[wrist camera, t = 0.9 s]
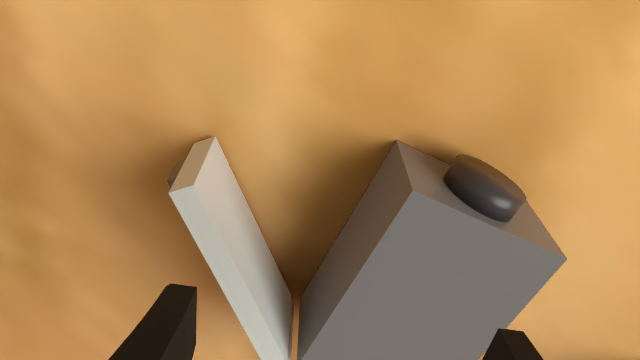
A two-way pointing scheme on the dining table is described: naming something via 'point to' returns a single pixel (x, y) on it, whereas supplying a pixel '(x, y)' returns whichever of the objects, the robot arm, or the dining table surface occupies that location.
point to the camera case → (426, 264)
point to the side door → (234, 247)
